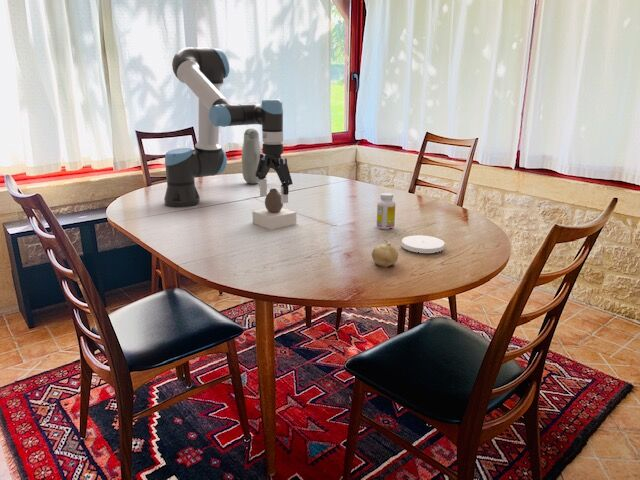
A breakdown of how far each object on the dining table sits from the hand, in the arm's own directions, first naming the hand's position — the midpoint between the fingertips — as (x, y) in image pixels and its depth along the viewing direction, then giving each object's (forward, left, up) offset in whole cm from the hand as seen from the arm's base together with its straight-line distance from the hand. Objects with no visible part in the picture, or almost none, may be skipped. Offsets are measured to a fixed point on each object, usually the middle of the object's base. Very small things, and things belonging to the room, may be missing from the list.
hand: (273, 199), depth 192 cm
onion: (+57, 0, -10) cm, 58 cm away
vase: (0, 0, -5) cm, 5 cm away
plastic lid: (+55, +21, -10) cm, 60 cm away
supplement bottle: (+31, +29, -10) cm, 44 cm away
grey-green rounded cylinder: (-66, +34, -10) cm, 75 cm away
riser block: (0, 0, -10) cm, 10 cm away
